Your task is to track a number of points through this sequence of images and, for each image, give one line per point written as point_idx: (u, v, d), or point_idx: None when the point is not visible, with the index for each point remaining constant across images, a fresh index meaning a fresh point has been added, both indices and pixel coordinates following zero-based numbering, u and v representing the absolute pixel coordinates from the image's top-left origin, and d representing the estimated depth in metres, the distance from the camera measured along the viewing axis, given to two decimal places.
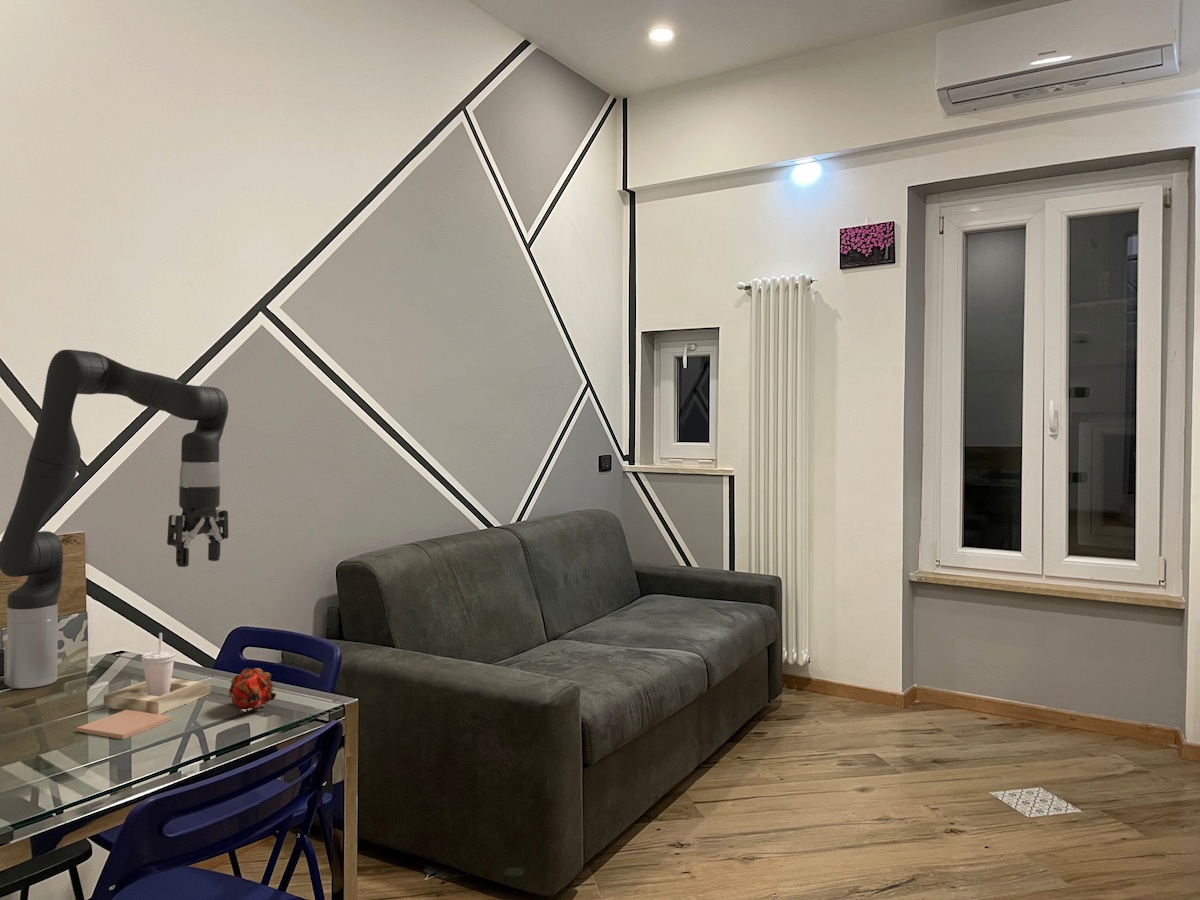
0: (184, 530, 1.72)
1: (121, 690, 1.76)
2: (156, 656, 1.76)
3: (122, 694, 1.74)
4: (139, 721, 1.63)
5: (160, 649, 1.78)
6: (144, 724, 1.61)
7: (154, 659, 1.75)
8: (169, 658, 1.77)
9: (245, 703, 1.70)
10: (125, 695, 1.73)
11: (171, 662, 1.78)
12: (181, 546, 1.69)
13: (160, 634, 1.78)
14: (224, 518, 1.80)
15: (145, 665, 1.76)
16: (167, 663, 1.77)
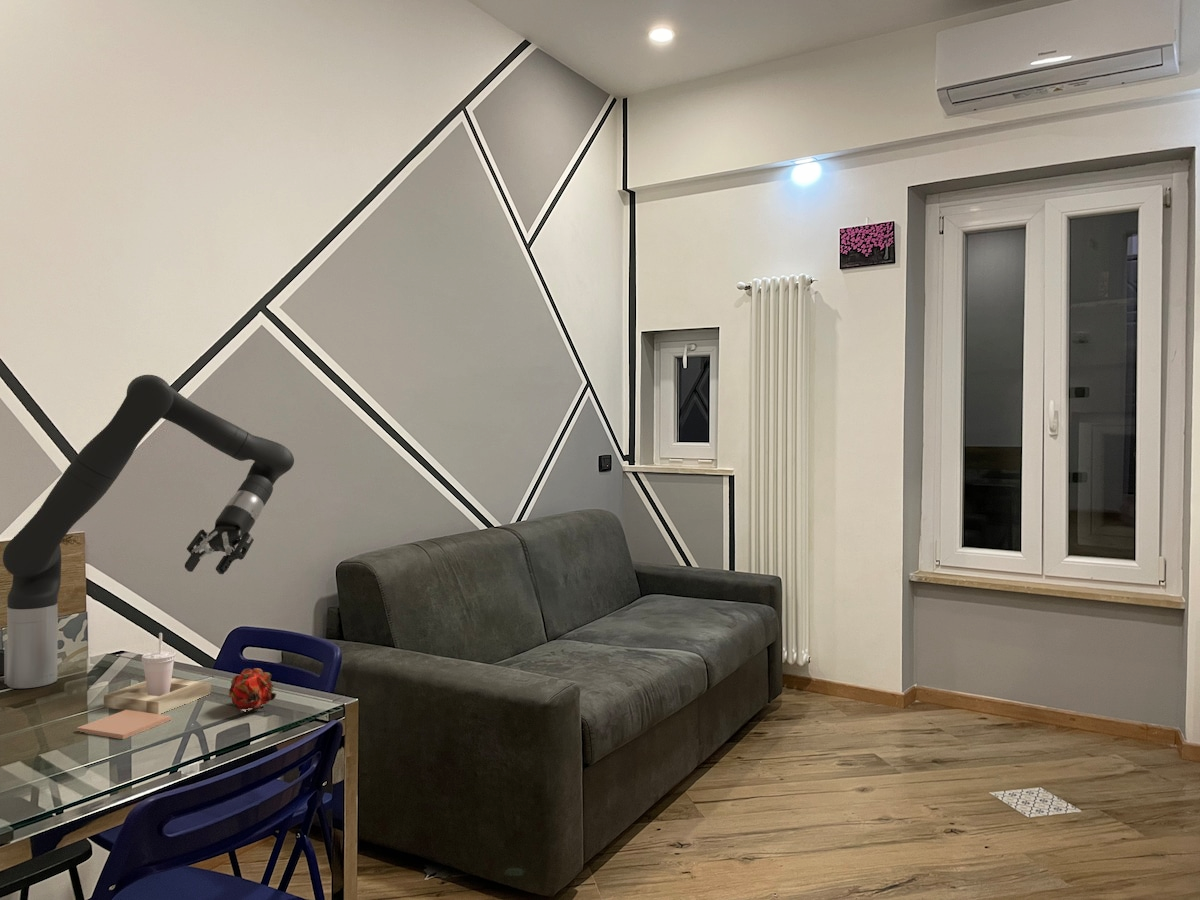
0: None
1: (121, 690, 1.76)
2: (156, 656, 1.76)
3: (122, 694, 1.74)
4: (139, 721, 1.63)
5: (160, 649, 1.78)
6: (144, 724, 1.61)
7: (154, 659, 1.75)
8: (169, 658, 1.77)
9: (245, 703, 1.70)
10: (125, 695, 1.73)
11: (171, 662, 1.78)
12: None
13: (160, 634, 1.78)
14: None
15: (145, 665, 1.76)
16: (167, 663, 1.77)
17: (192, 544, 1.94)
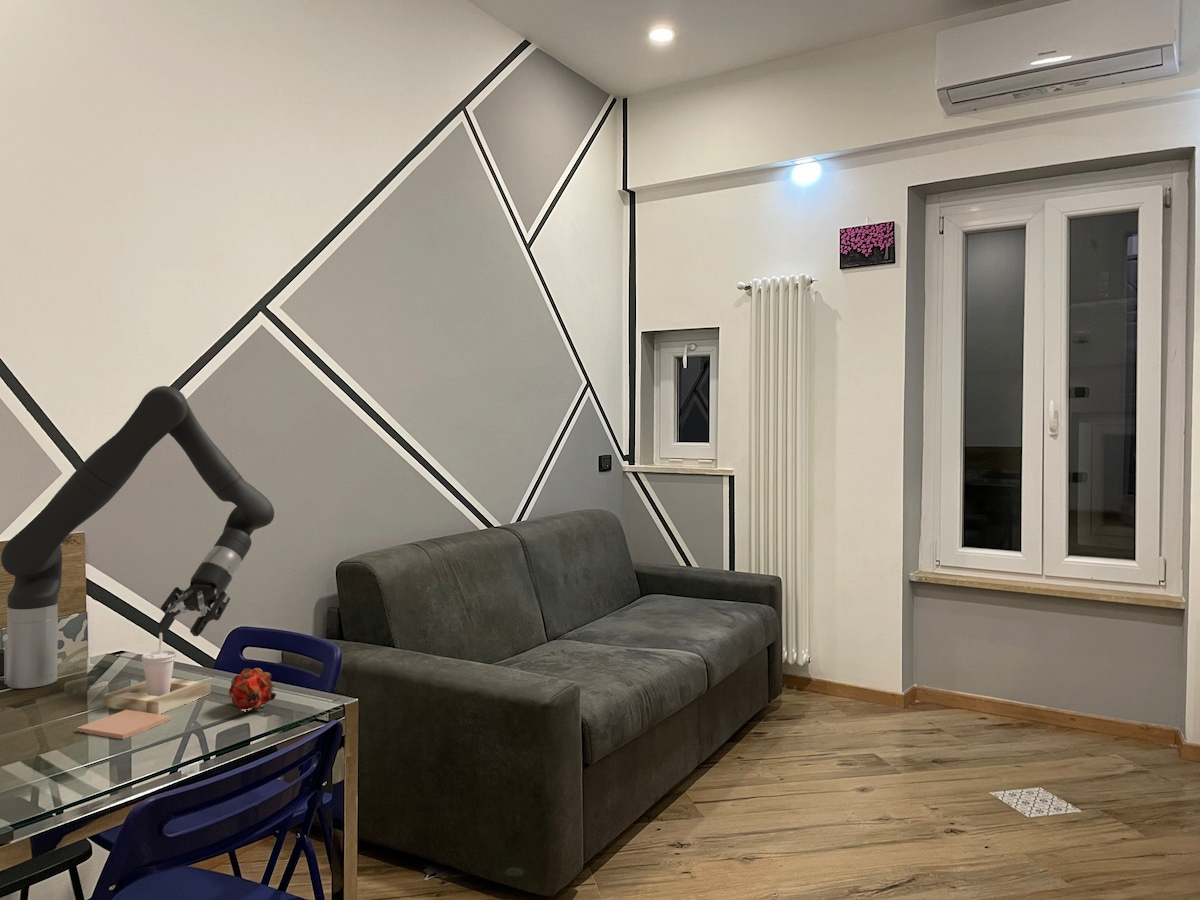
0: None
1: (121, 690, 1.76)
2: (156, 656, 1.76)
3: (122, 694, 1.74)
4: (139, 721, 1.63)
5: (160, 649, 1.78)
6: (144, 724, 1.61)
7: (154, 659, 1.75)
8: (169, 658, 1.77)
9: (245, 703, 1.70)
10: (125, 695, 1.73)
11: (171, 662, 1.78)
12: None
13: (160, 634, 1.78)
14: None
15: (145, 665, 1.76)
16: (167, 663, 1.77)
17: (166, 603, 1.88)
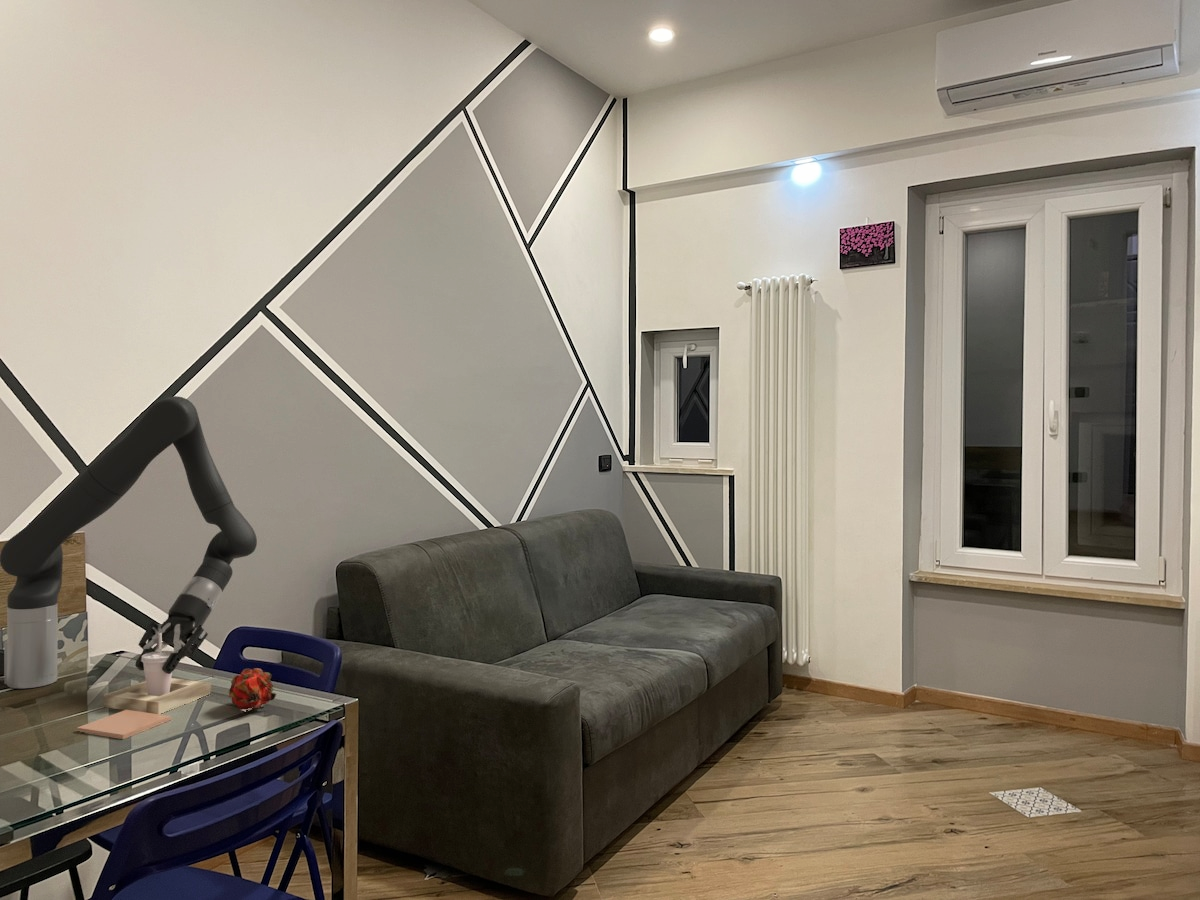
0: None
1: (121, 690, 1.76)
2: (156, 656, 1.76)
3: (122, 694, 1.74)
4: (139, 721, 1.63)
5: (160, 649, 1.78)
6: (144, 724, 1.61)
7: (154, 659, 1.75)
8: None
9: (245, 703, 1.70)
10: (125, 695, 1.73)
11: None
12: None
13: (160, 634, 1.78)
14: None
15: (145, 665, 1.76)
16: None
17: (144, 639, 1.81)
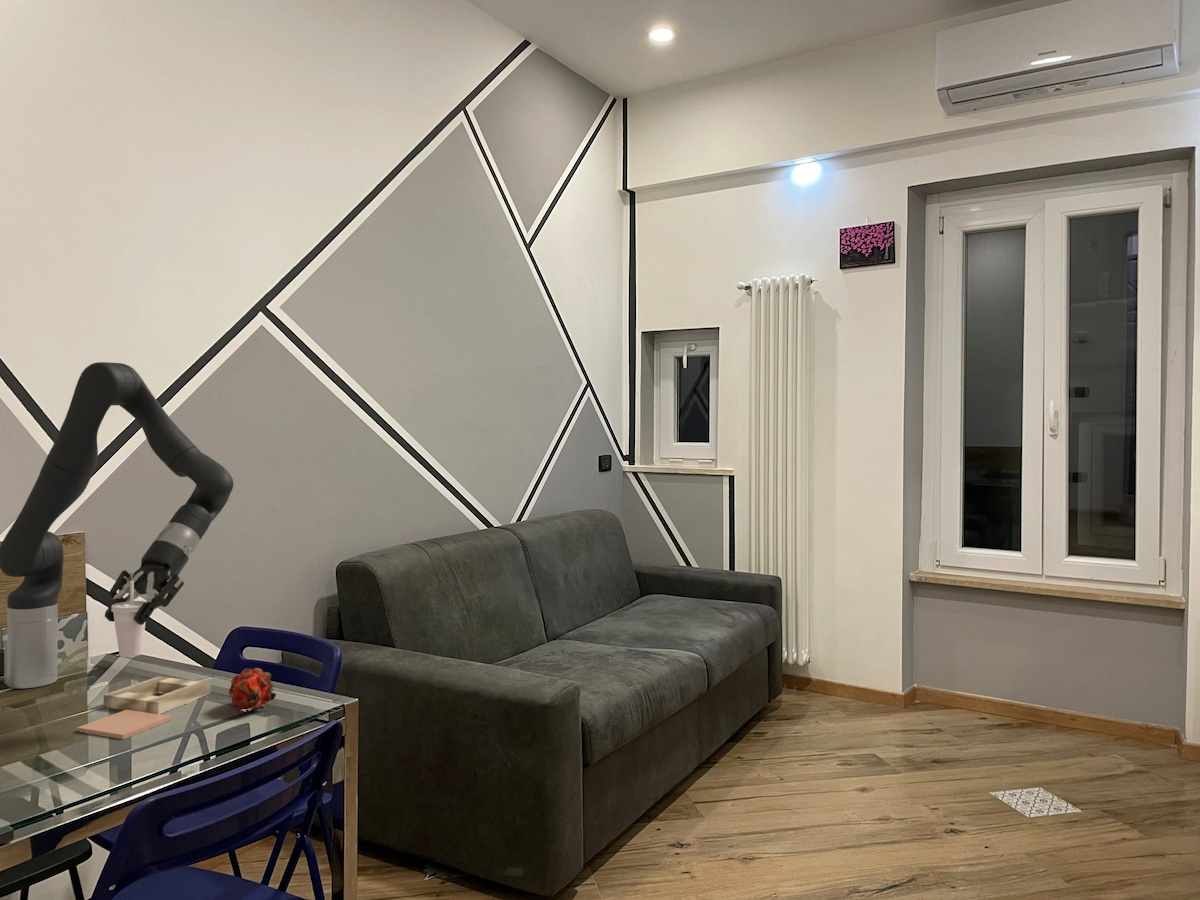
0: None
1: (121, 690, 1.76)
2: (127, 605, 1.62)
3: (122, 694, 1.74)
4: (139, 721, 1.63)
5: (132, 598, 1.64)
6: (144, 724, 1.61)
7: (125, 608, 1.61)
8: None
9: (245, 703, 1.70)
10: (125, 695, 1.73)
11: None
12: None
13: (131, 582, 1.64)
14: None
15: (115, 616, 1.61)
16: None
17: (114, 588, 1.67)
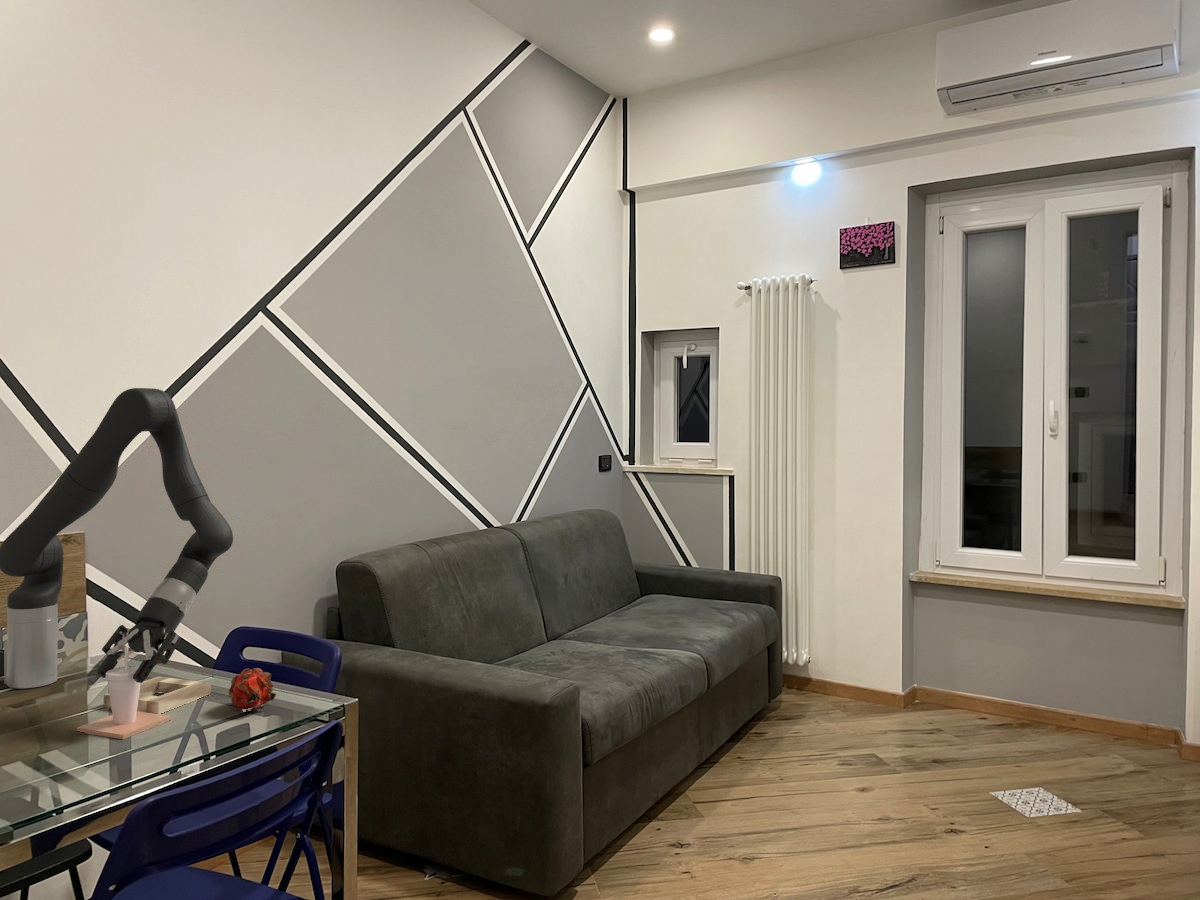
0: None
1: None
2: (121, 672, 1.61)
3: None
4: (139, 721, 1.63)
5: (126, 665, 1.63)
6: (144, 724, 1.61)
7: (119, 676, 1.60)
8: None
9: (245, 703, 1.70)
10: None
11: None
12: None
13: (126, 648, 1.63)
14: None
15: (109, 683, 1.61)
16: (133, 680, 1.62)
17: (109, 644, 1.66)
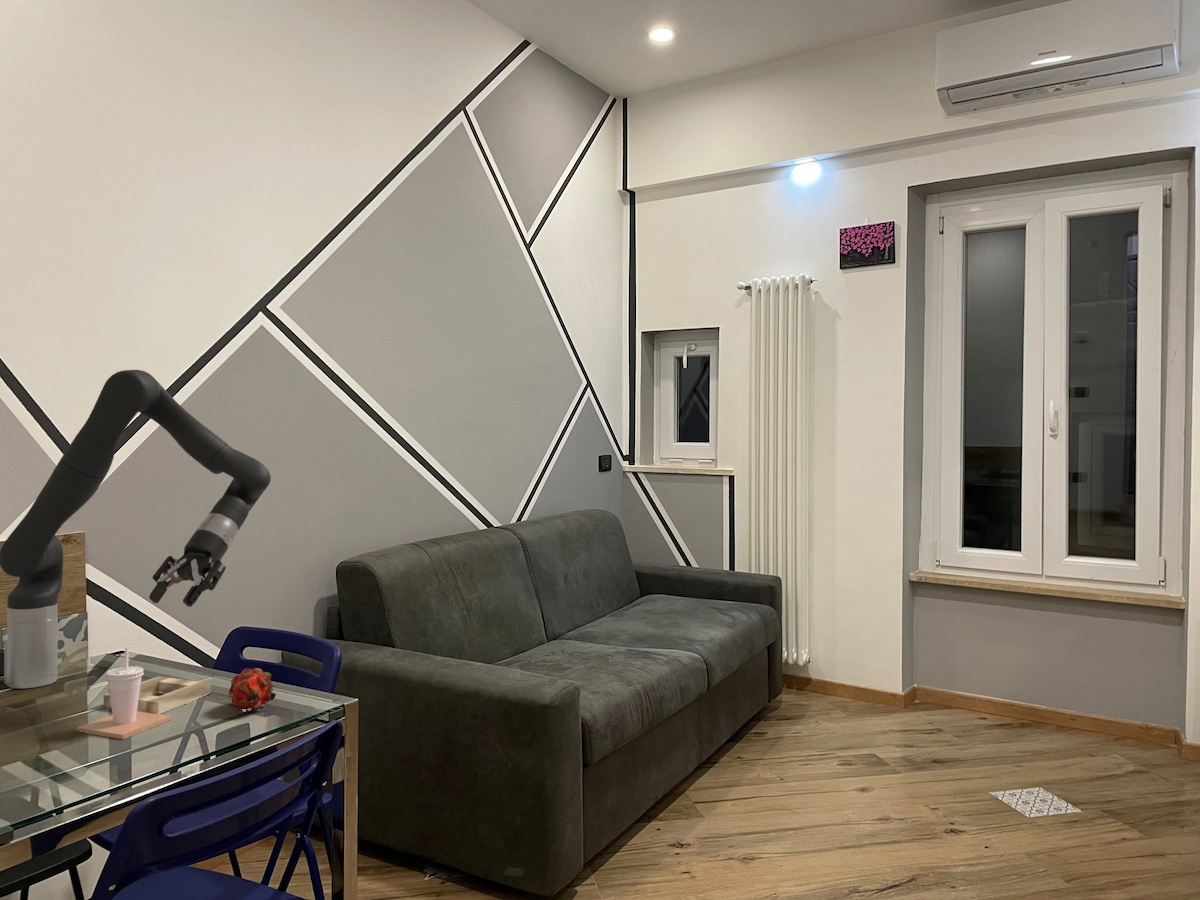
0: None
1: None
2: (122, 672, 1.61)
3: None
4: (139, 721, 1.63)
5: (126, 665, 1.63)
6: (144, 724, 1.61)
7: (119, 676, 1.60)
8: (136, 675, 1.62)
9: (245, 703, 1.70)
10: None
11: (138, 679, 1.63)
12: None
13: (126, 648, 1.63)
14: None
15: (109, 683, 1.61)
16: (134, 680, 1.62)
17: (158, 572, 1.78)
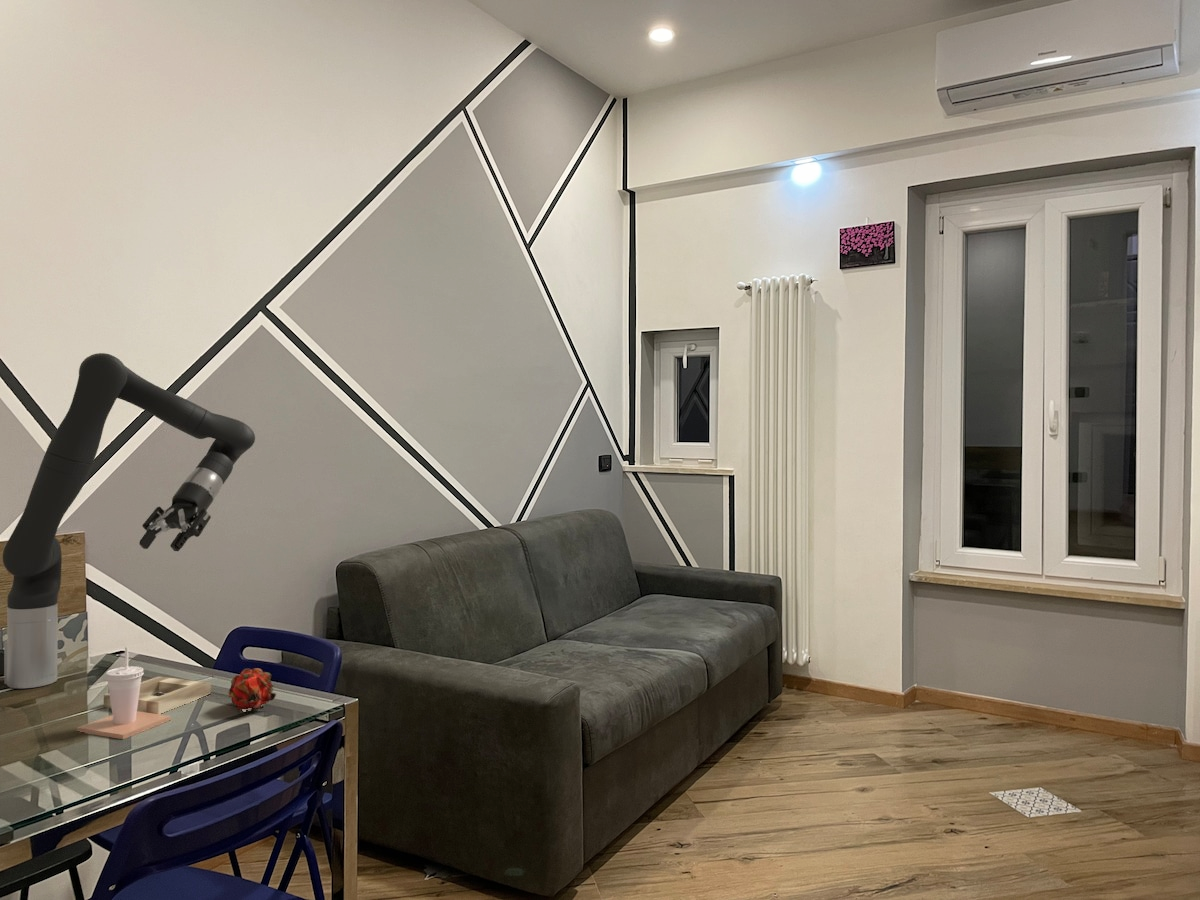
0: None
1: None
2: (121, 672, 1.61)
3: None
4: (139, 721, 1.63)
5: (126, 665, 1.63)
6: (144, 724, 1.61)
7: (119, 676, 1.60)
8: (136, 675, 1.62)
9: (245, 703, 1.70)
10: None
11: (138, 679, 1.63)
12: None
13: (126, 648, 1.63)
14: None
15: (109, 683, 1.61)
16: (134, 680, 1.62)
17: (148, 521, 1.91)
